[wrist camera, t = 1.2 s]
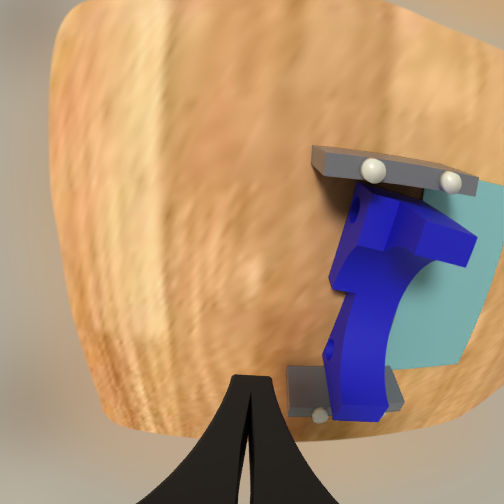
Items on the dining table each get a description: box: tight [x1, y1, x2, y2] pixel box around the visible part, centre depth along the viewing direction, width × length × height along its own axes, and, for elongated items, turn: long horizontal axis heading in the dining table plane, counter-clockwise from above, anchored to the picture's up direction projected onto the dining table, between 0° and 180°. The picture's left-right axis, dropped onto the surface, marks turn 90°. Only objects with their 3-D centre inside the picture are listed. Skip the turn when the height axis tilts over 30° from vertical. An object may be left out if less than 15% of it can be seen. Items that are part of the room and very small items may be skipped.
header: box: [286, 145, 479, 423], centre depth 17 cm, size 8×16×5 cm, turn 178°
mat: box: [385, 180, 504, 370], centre depth 19 cm, size 8×15×1 cm, turn 178°
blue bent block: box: [322, 181, 478, 422], centre depth 16 cm, size 12×4×6 cm, turn 169°
